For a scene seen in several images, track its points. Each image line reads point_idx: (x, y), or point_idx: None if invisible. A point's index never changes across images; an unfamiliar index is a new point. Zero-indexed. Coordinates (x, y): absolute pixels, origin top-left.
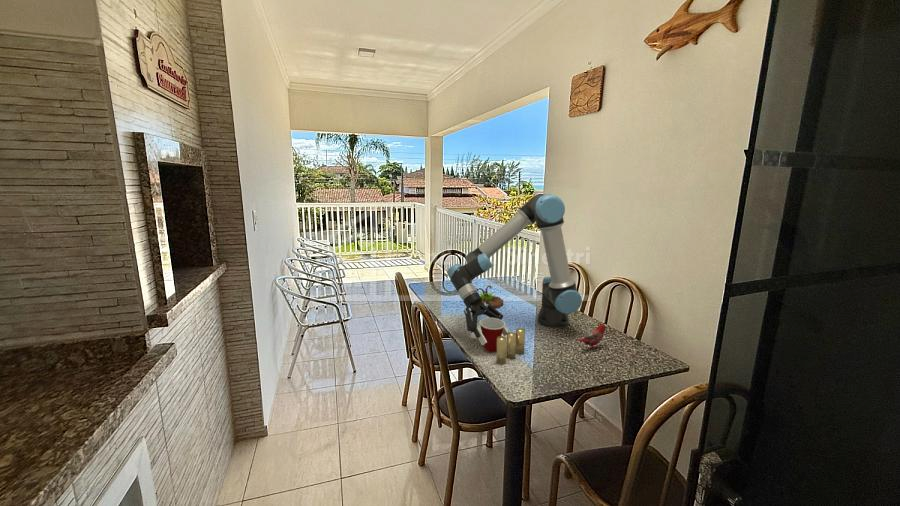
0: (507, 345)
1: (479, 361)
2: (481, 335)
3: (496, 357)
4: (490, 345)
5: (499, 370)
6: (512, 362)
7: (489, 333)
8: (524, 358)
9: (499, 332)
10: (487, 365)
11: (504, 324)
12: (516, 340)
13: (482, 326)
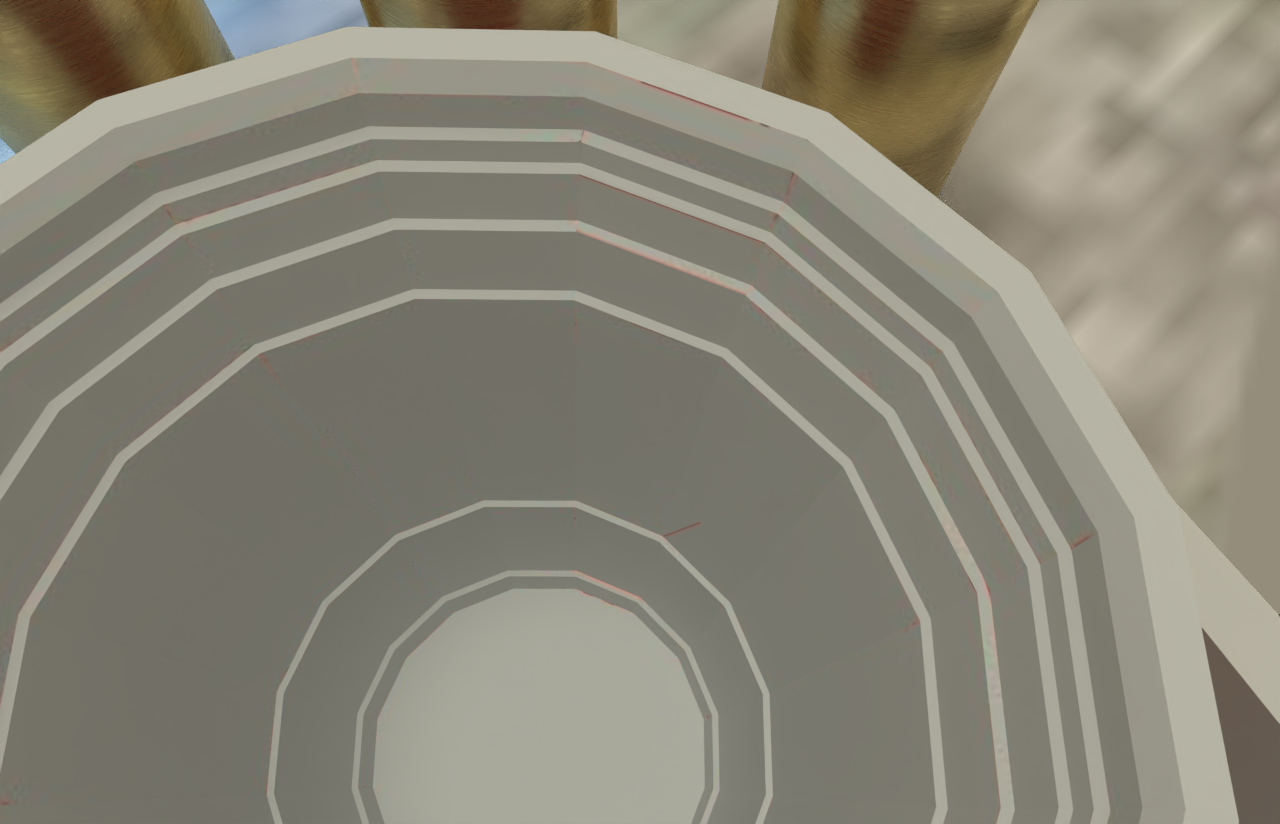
0: (614, 29)
1: (1195, 471)
2: (1224, 579)
3: (941, 182)
4: (717, 597)
5: (1081, 4)
6: (667, 49)
7: (873, 460)
8: (360, 14)
9: (508, 257)
10: (1154, 251)
11: (60, 161)
12: (189, 51)
13: (1198, 705)
